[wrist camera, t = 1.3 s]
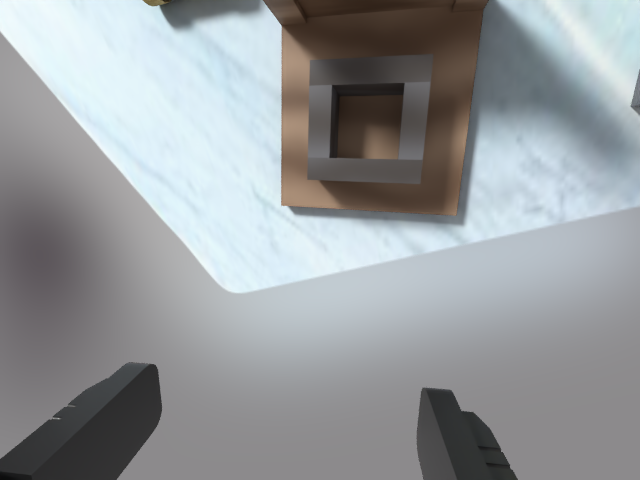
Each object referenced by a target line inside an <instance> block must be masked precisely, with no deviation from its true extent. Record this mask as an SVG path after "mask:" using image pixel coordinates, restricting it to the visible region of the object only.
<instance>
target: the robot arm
mask: <svg viewBox="0 0 640 480" xmlns="http://www.w3.org/2000/svg"><path fill="white" fill-rule="evenodd" d="M158 376H159V375H158V369H157V367H156V365H154V364H145V363H133V362H129V363H127V364H125V365H124V366H122V367H121V368H120V369H119V370H118V371H116V372H115V373H114V374H113V375H112V376H110V377H109V378H108V379H105V380H103V381H101V382H99V383H97V384H96V385H94V386H92V387H90V388H88V389H86V390H85V391H83V392H82V393H81V394H80V395H79V396H77V397H76V398H75V399H74V400H72V401H71V402H70V403H69V404H68V406H67V407H64V408H63V409H62V410H60V411H59V412H58V413H56V414H55V415H54V416H53V418H52V420H48V421H47V422H45V423H44V424H43V425H42V426H40V427H39V428H38V429H37V430H36V431H34V432H33V433H32V434H31V435H29V436H28V437H27V438H26V439H24V440H23V441H22V442H21V443H20V444H19V445H17V446H16V447H15V448H13V449H12V450H11V451H10V452H9V453H7V454H6V455H5V456H4V457H2V458H1V459H0V480H117V478H118V477H119V476H120V474H121V473H122V472H123V470H124V469H125V468H126V466H127V465H128V464H129V463H130V461H131V460H132V459H133V457H134V456H135V455H136V454H137V452H138V451H139V450H140V448H141V447H142V446H143V444H144V443H145V442H146V440H147V439H148V438H149V437H150V435H151V434H152V433H153V431H154V429H155V428H156V427H157V425H158V422H159V420H160V417H161V412H162V403H161V394H160V385H159V377H158ZM417 450H418V457H419V462H420V466H421V470H422V474H423V479H424V480H518V479H517V478H516V476H515V474H514V472H513V470H511V469H510V464H509V463H508V461H507V459H506V457H505V455H504V453H503V452H501V448H500V446H499V444H498V443H497V441H496V439H495V437H494V435H493V433H492V432H491V430H490V428H489V427H487V425H486V424H485V423H484V422H483V421H482V420H481V419H480V418H479V417H478V416H477V415H476V414H474V413H473V412H464V411H461V409H460V407H459V405H458V402H457V400H456V398H455V396H454V394H453V392H452V391H451V390H446V389H435V388H423V389H422V391H421V398H420V407H419V417H418V427H417Z"/></svg>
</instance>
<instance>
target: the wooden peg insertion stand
mask: <svg viewBox="0 0 640 480" xmlns="http://www.w3.org/2000/svg"><path fill="white" fill-rule="evenodd" d="M263 1H264V2H265V4H266V5H267V6H268V8H269V9H270V10H271V12H272V13H273V14H274V16H275V17H276V18H277V20H278V21H279V23H280V24H281V25H282V159H281V206H299V207H316V208H333V209H350V210H368V211H385V212H402V213H419V214H437V215H454V216H456V215H457V208H458V200H459V192H460V185H461V177H462V170H463V162H464V154H465V147H466V139H467V132H468V124H469V116H470V109H471V101H472V93H473V86H474V78H475V71H476V63H477V55H478V48H479V40H480V33H481V25H482V17H483V10H484V8H485V6H486V5H487V3H488V1H489V0H263Z"/></svg>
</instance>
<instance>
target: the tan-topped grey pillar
mask: <svg viewBox="0 0 640 480" xmlns="http://www.w3.org/2000/svg"><path fill="white" fill-rule="evenodd" d="M631 107H640V71H639V75H638V79H637V83H636V87H635V91H634V96H633V100H632V104H631Z"/></svg>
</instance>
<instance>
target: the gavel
mask: <svg viewBox="0 0 640 480" xmlns="http://www.w3.org/2000/svg"><path fill="white" fill-rule="evenodd" d="M143 1H144V2H145V3H147V4H148V5H150V6H158V5H162V4H166V3H169V2H171V1H172V0H143Z"/></svg>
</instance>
